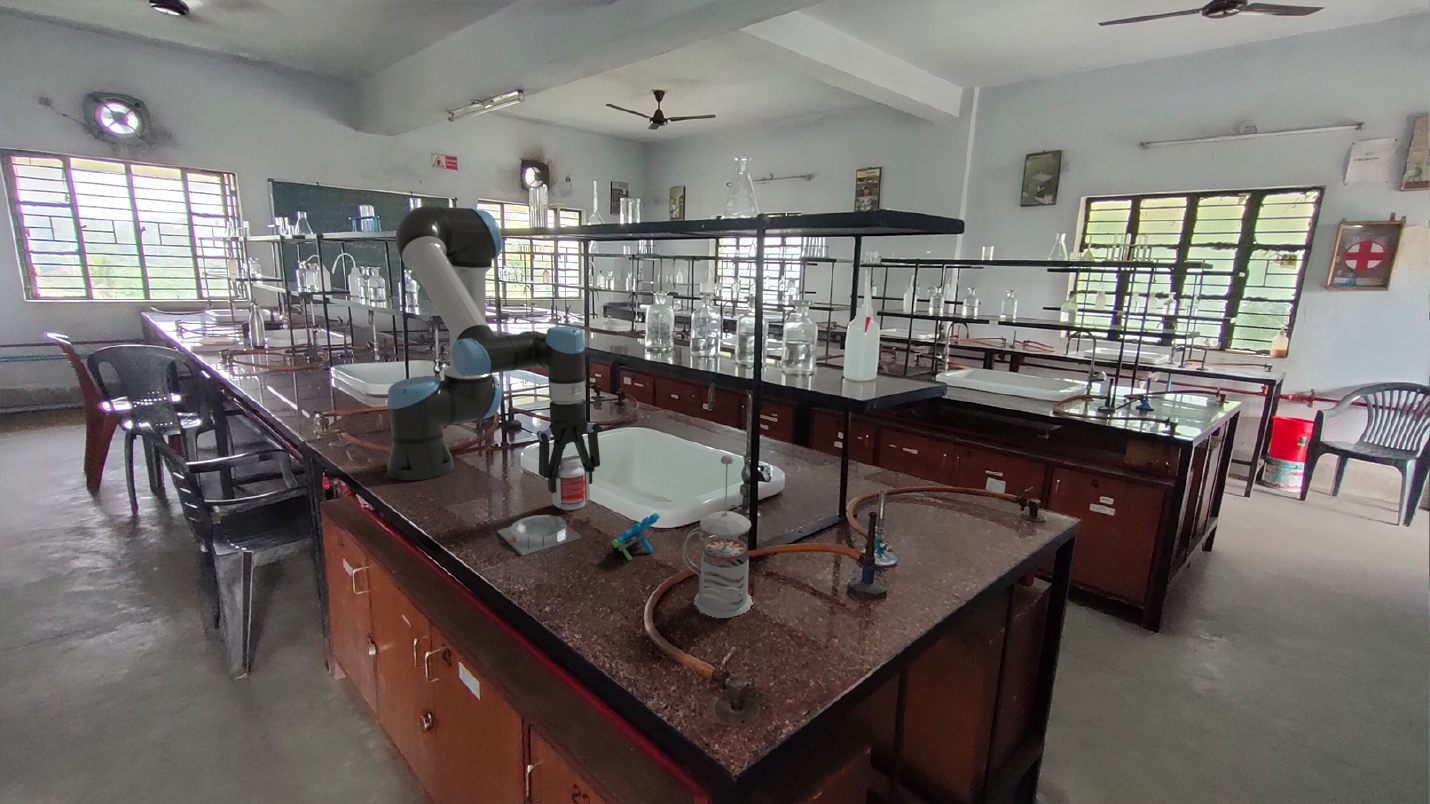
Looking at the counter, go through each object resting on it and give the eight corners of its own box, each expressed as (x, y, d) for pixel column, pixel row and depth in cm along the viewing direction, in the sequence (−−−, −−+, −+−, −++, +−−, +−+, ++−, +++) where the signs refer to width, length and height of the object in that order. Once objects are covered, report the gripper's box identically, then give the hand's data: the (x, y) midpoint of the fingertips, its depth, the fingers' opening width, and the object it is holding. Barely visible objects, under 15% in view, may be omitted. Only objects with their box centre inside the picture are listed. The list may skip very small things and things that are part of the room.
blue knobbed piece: (643, 525, 126) (663, 503, 119) (659, 550, 124) (681, 529, 117) (599, 550, 118) (618, 528, 111) (616, 576, 117) (636, 556, 110)
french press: (750, 622, 96) (755, 468, 90) (676, 614, 98) (677, 462, 92) (756, 589, 105) (762, 447, 100) (689, 582, 107) (690, 443, 101)
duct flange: (497, 533, 124) (497, 523, 124) (554, 518, 132) (553, 508, 131) (521, 555, 115) (521, 545, 115) (580, 538, 123) (580, 528, 122)
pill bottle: (589, 507, 138) (588, 459, 135) (563, 513, 134) (561, 464, 132) (579, 498, 143) (577, 452, 140) (553, 503, 139) (551, 456, 137)
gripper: (531, 410, 124) (537, 518, 130) (615, 397, 136) (617, 497, 141) (517, 402, 130) (522, 506, 135) (598, 391, 142) (601, 487, 147)
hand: (571, 501), depth 138 cm, fingers closed on pill bottle, 6 cm apart
